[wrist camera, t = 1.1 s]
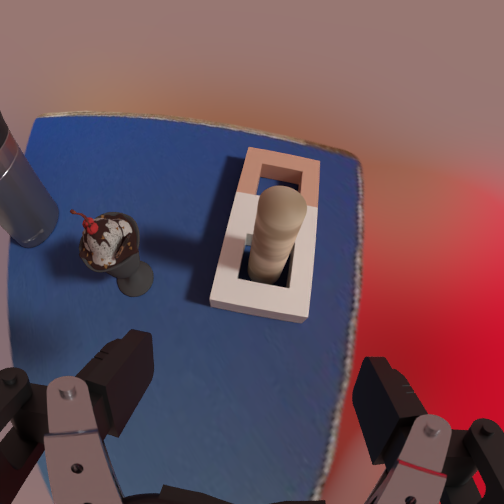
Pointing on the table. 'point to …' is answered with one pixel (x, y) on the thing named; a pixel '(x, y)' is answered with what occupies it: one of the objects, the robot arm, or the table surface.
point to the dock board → (241, 233)
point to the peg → (275, 232)
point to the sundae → (115, 251)
